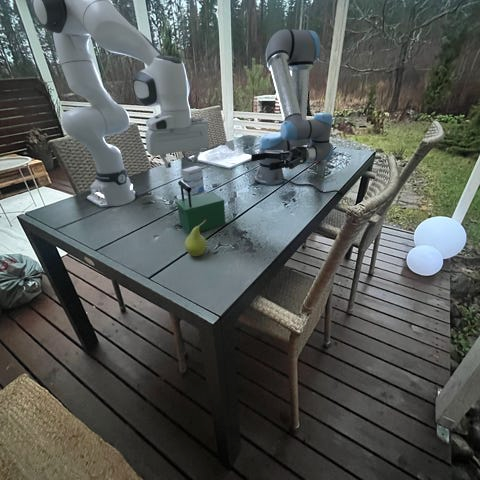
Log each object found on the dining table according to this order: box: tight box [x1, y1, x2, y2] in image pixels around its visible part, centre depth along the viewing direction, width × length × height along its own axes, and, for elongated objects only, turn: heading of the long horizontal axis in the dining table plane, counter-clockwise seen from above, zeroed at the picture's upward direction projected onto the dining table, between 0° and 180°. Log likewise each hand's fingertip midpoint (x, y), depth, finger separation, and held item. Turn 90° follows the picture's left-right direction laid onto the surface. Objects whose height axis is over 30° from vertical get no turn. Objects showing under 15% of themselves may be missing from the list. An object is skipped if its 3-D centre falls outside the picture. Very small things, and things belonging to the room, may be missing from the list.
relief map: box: [188, 144, 251, 170], centre depth 178 cm, size 27×35×5 cm
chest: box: [177, 202, 226, 235], centre depth 103 cm, size 15×9×9 cm, turn 122°
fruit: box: [184, 219, 208, 257], centre depth 85 cm, size 7×8×12 cm
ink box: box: [181, 165, 205, 197], centre depth 128 cm, size 8×5×12 cm, turn 134°
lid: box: [174, 179, 225, 213], centre depth 98 cm, size 16×9×9 cm, turn 122°
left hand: (182, 164), depth 90 cm, fingers open, 8 cm apart
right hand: (260, 162), depth 108 cm, fingers open, 13 cm apart
